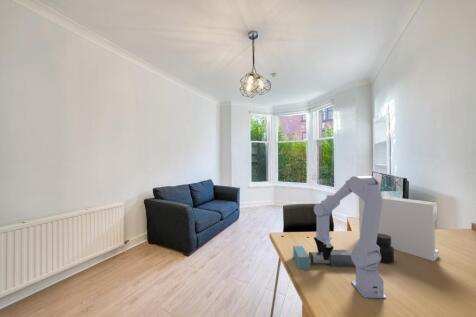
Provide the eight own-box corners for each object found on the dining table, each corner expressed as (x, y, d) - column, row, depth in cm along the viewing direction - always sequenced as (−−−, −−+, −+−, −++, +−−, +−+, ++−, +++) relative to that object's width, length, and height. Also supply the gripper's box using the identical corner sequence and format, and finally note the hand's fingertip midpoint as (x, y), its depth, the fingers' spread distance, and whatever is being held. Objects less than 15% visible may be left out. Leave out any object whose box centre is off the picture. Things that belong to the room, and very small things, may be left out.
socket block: (309, 269, 91) (309, 257, 92) (299, 269, 92) (298, 256, 92) (302, 257, 103) (302, 246, 104) (293, 257, 104) (293, 246, 104)
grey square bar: (349, 263, 95) (349, 256, 95) (311, 263, 96) (311, 255, 96) (345, 260, 98) (345, 252, 98) (308, 259, 99) (308, 252, 99)
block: (359, 238, 128) (358, 195, 128) (365, 235, 132) (364, 193, 133) (433, 261, 98) (432, 204, 99) (438, 256, 103) (437, 202, 103)
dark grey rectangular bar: (361, 267, 93) (361, 255, 93) (331, 266, 94) (330, 254, 94) (355, 261, 99) (354, 249, 99) (326, 260, 100) (326, 249, 100)
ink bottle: (381, 254, 106) (381, 231, 106) (399, 262, 98) (398, 237, 98) (367, 257, 103) (367, 234, 103) (385, 265, 95) (384, 240, 95)
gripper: (337, 233, 90) (338, 263, 90) (325, 223, 104) (325, 249, 104) (322, 233, 90) (322, 263, 90) (311, 223, 105) (312, 249, 105)
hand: (323, 256), depth 97 cm, fingers open, 7 cm apart
